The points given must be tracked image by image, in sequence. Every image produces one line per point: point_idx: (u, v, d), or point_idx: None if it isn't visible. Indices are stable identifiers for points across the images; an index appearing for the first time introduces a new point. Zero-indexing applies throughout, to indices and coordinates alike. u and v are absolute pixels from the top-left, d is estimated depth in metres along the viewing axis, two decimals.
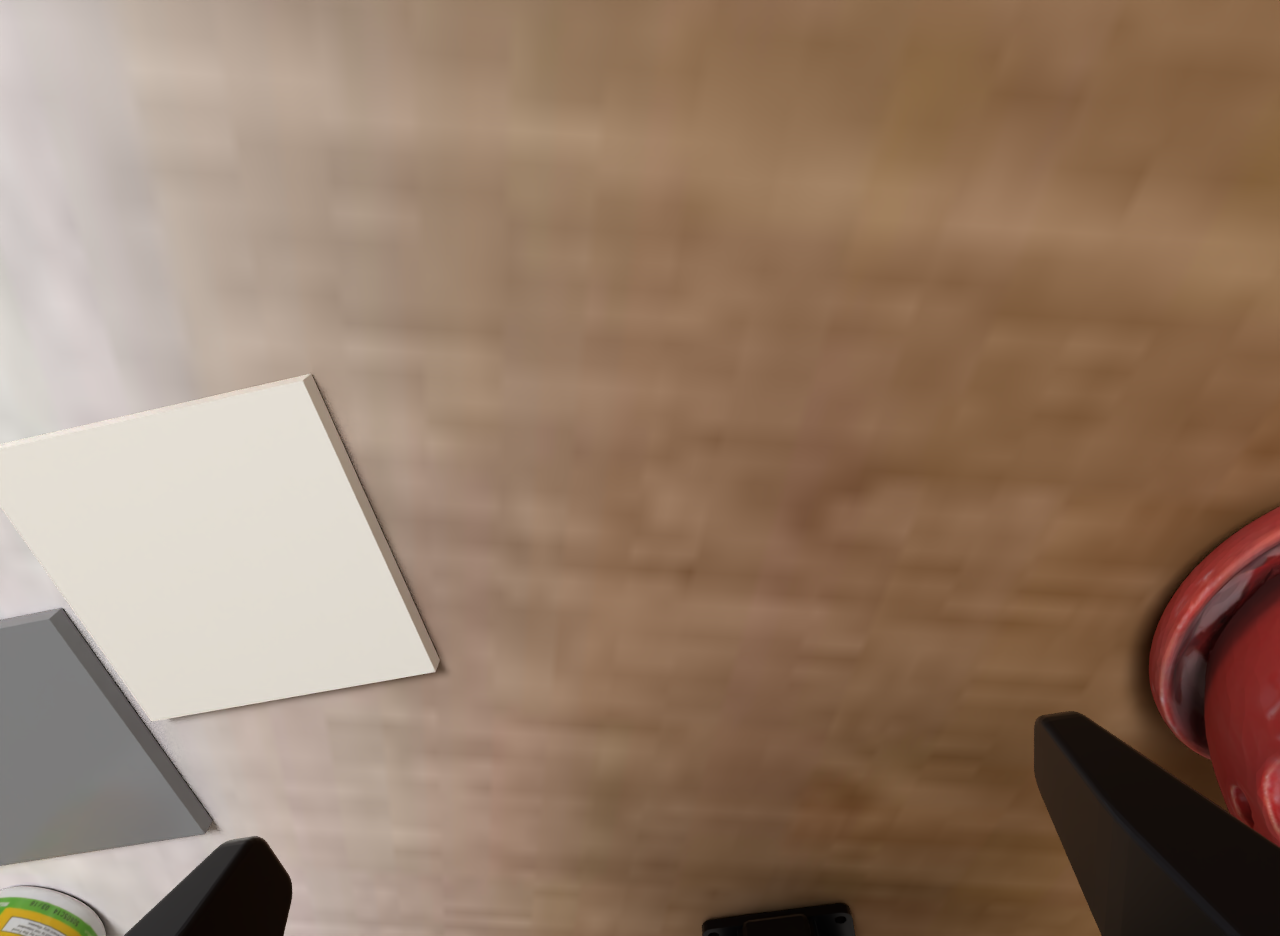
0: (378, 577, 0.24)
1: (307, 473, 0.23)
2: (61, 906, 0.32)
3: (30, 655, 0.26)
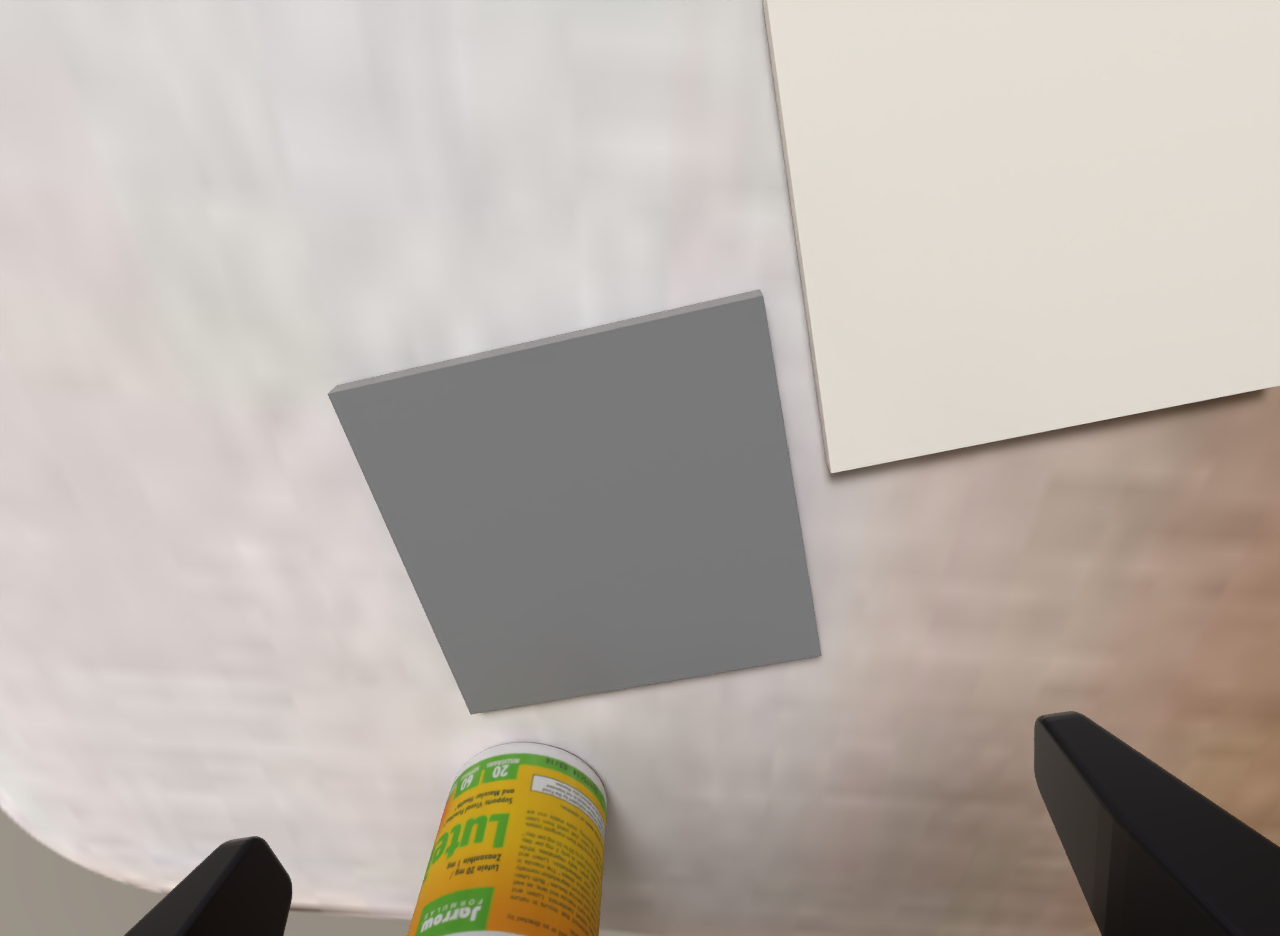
0: None
1: None
2: (577, 767, 0.24)
3: (708, 360, 0.18)
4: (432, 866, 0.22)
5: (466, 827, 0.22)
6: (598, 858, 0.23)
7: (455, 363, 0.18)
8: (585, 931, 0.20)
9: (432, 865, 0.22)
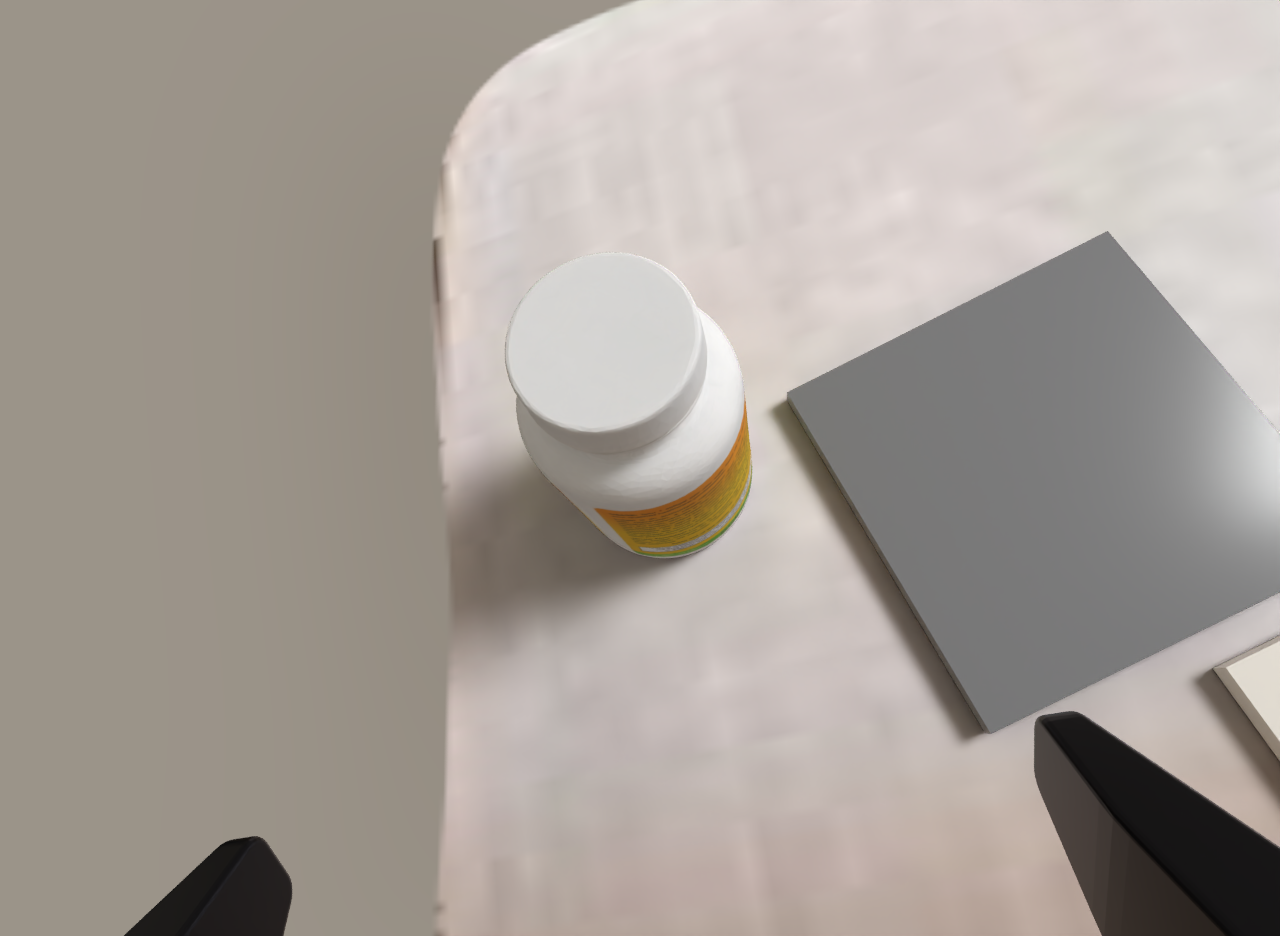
0: None
1: None
2: (742, 509, 0.22)
3: None
4: None
5: None
6: (699, 528, 0.20)
7: None
8: (707, 493, 0.18)
9: None
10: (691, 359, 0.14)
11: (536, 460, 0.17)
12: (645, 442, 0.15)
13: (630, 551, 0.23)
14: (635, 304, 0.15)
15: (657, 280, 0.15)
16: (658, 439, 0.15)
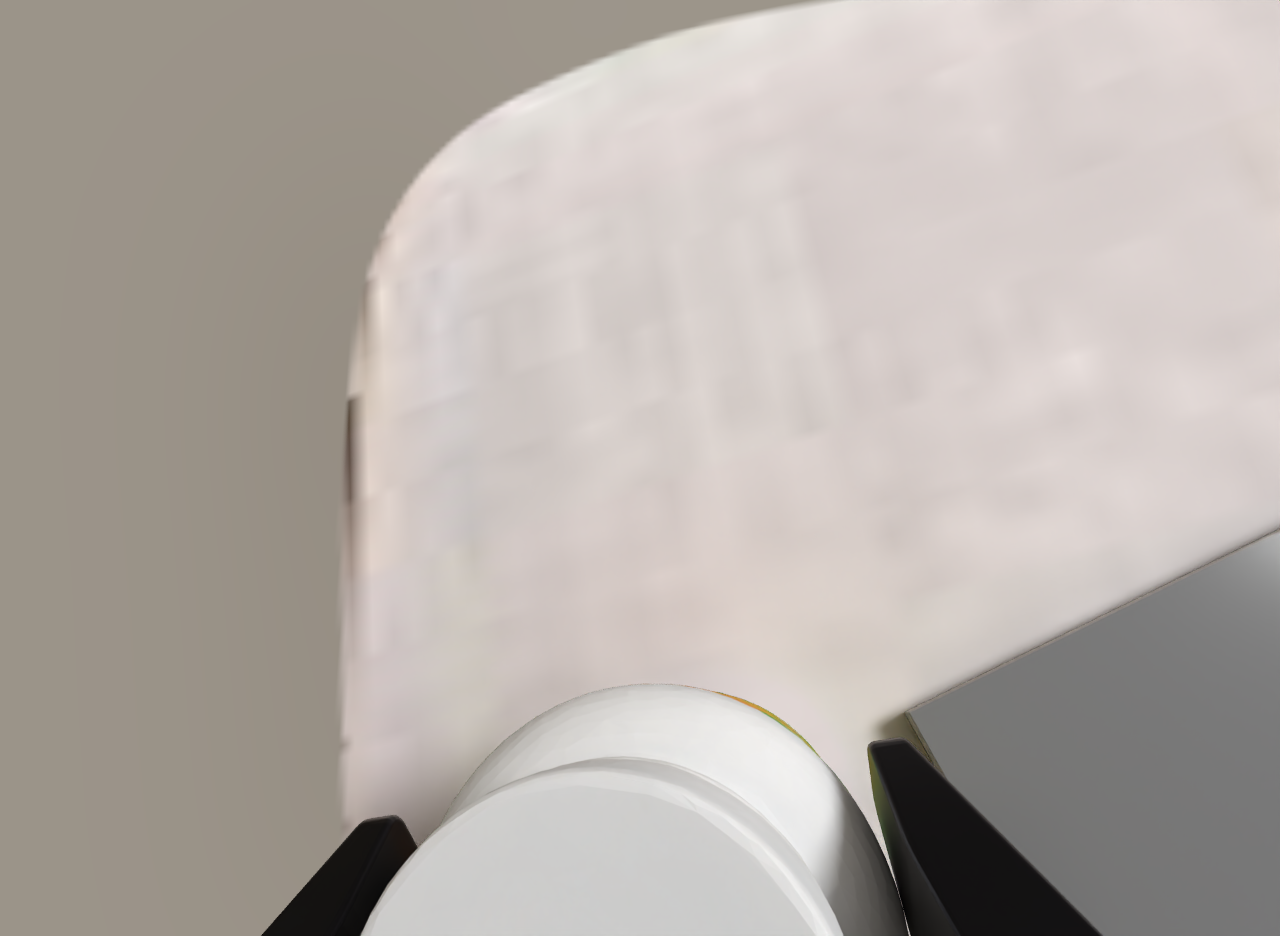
0: None
1: None
2: None
3: None
4: (752, 704, 0.11)
5: None
6: None
7: None
8: None
9: (751, 704, 0.11)
10: None
11: None
12: None
13: None
14: None
15: (744, 894, 0.05)
16: None
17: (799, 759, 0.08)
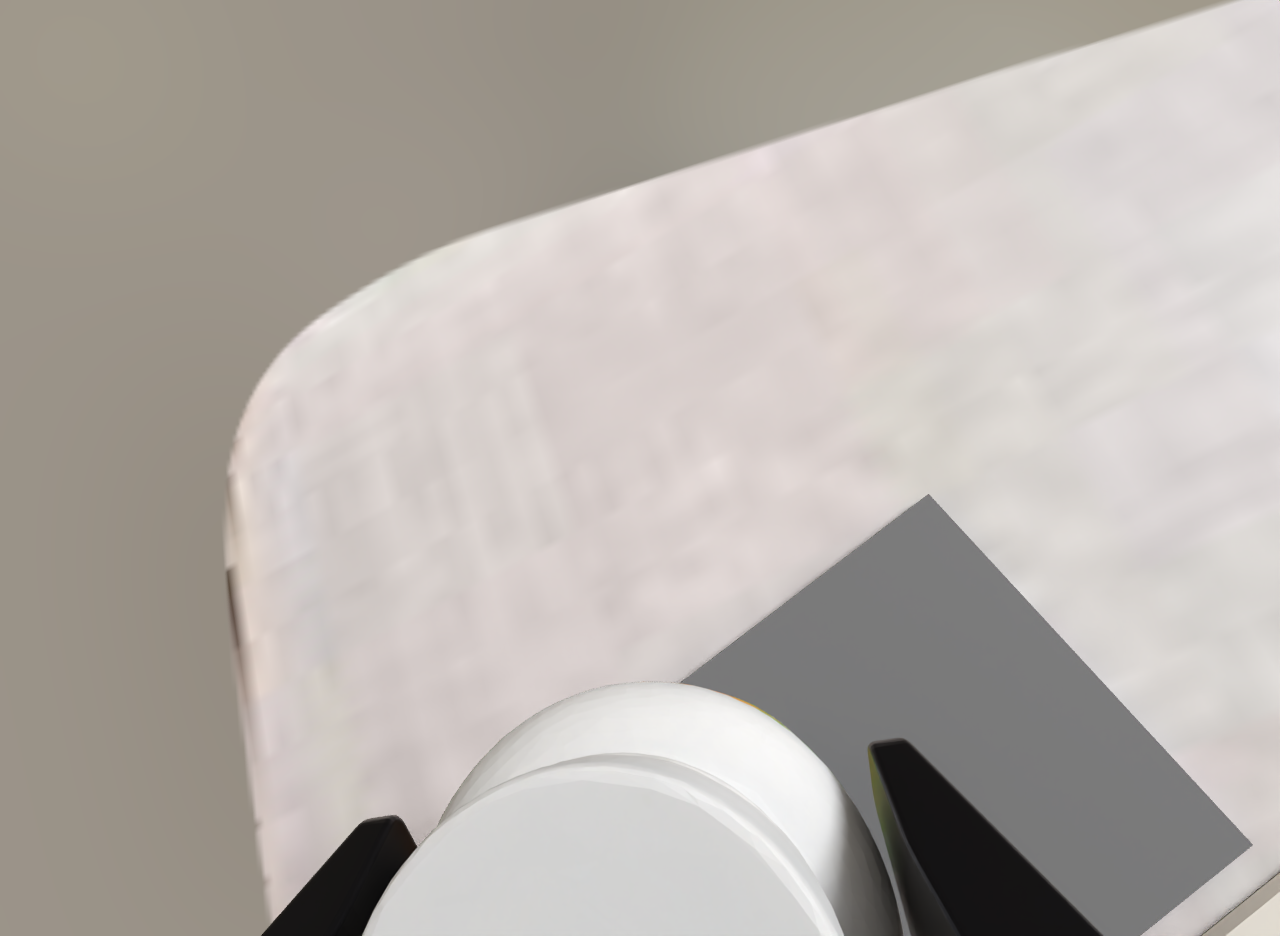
0: None
1: None
2: None
3: (1159, 819, 0.18)
4: (746, 702, 0.11)
5: None
6: None
7: (1014, 588, 0.20)
8: None
9: (745, 702, 0.11)
10: None
11: None
12: None
13: None
14: None
15: (745, 886, 0.05)
16: None
17: (796, 755, 0.08)
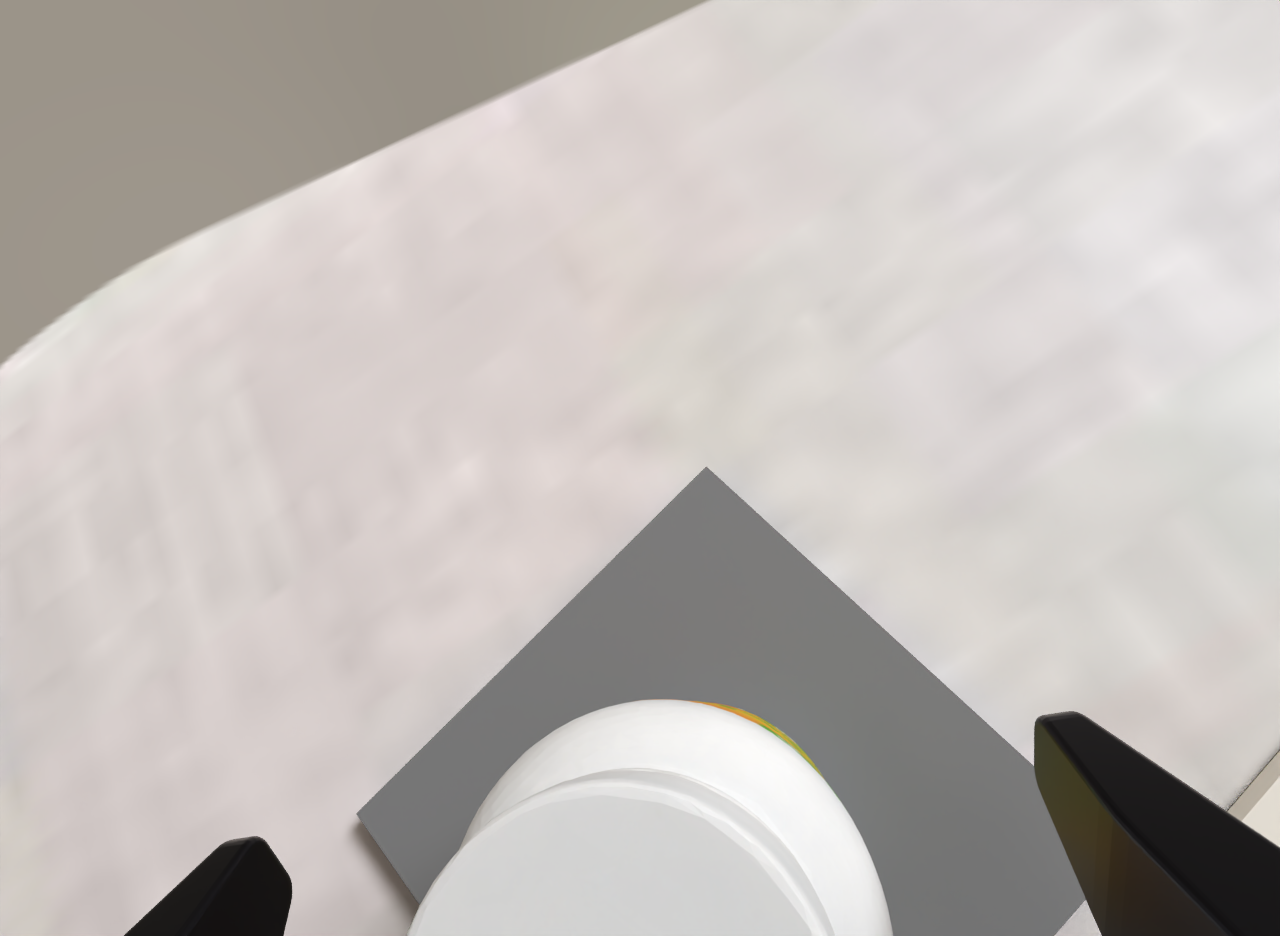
0: None
1: None
2: None
3: (1011, 835, 0.14)
4: (751, 716, 0.12)
5: (811, 763, 0.12)
6: None
7: (815, 567, 0.17)
8: None
9: (750, 715, 0.12)
10: None
11: None
12: None
13: None
14: None
15: (745, 889, 0.06)
16: None
17: (793, 769, 0.09)
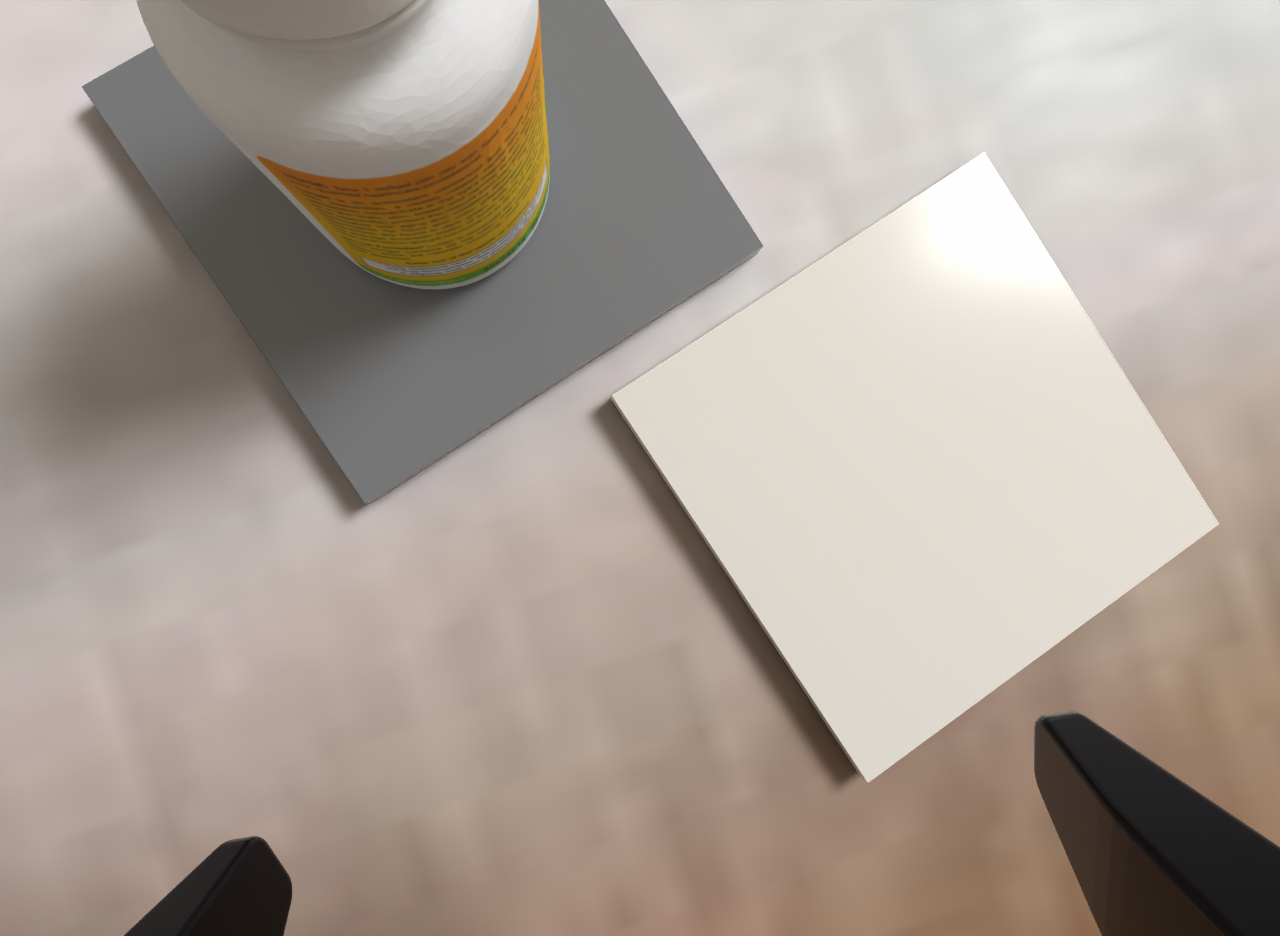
0: (995, 666, 0.18)
1: (1109, 549, 0.18)
2: (522, 245, 0.17)
3: (683, 219, 0.18)
4: None
5: None
6: (445, 248, 0.14)
7: None
8: (448, 185, 0.12)
9: None
10: None
11: (152, 36, 0.10)
12: (321, 32, 0.08)
13: (357, 265, 0.16)
14: None
15: None
16: (351, 40, 0.09)
17: None
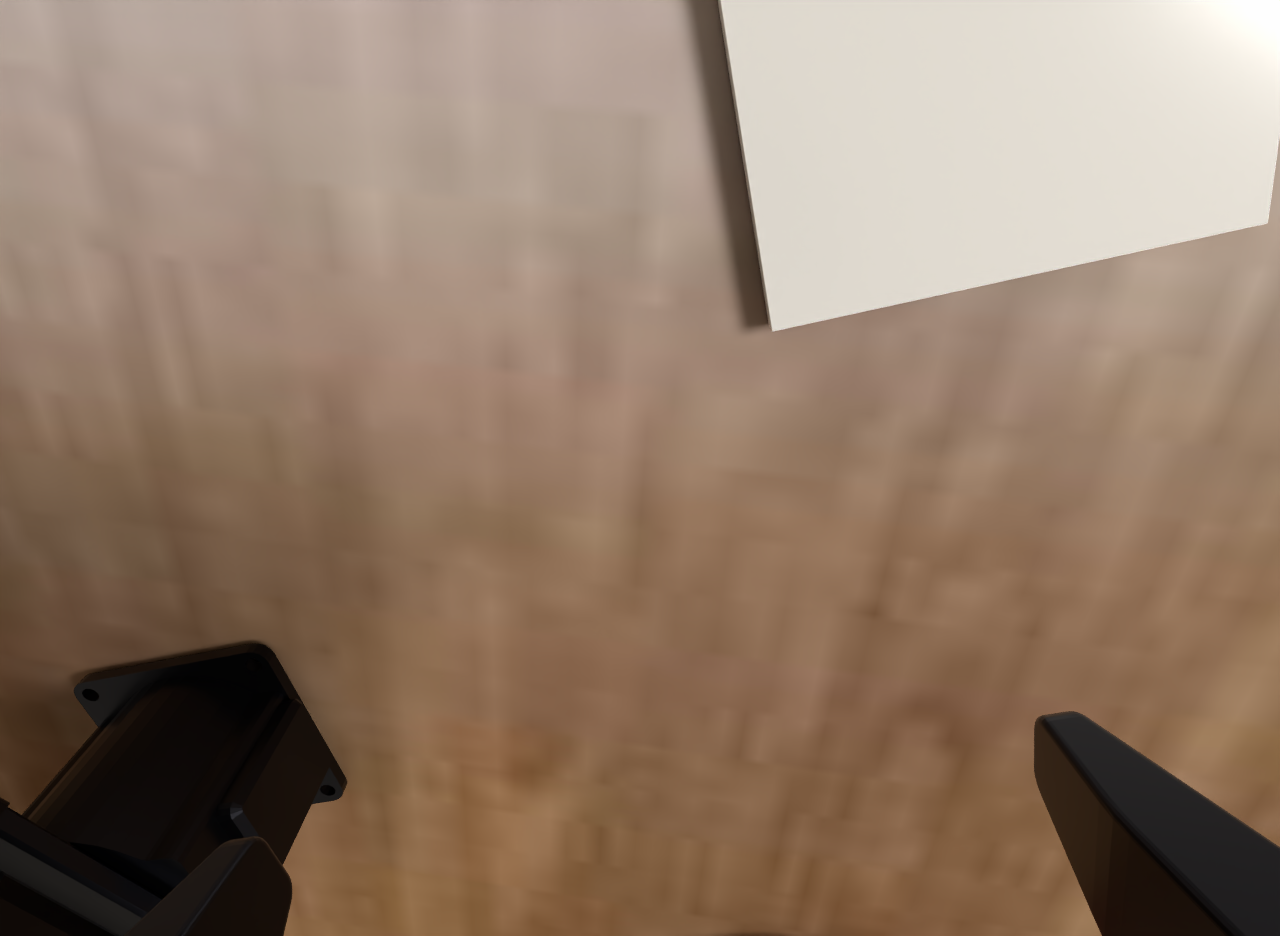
0: (950, 273, 0.17)
1: (1138, 201, 0.16)
2: None
3: None
4: None
5: None
6: None
7: None
8: None
9: None
10: None
11: None
12: None
13: None
14: None
15: None
16: None
17: None
